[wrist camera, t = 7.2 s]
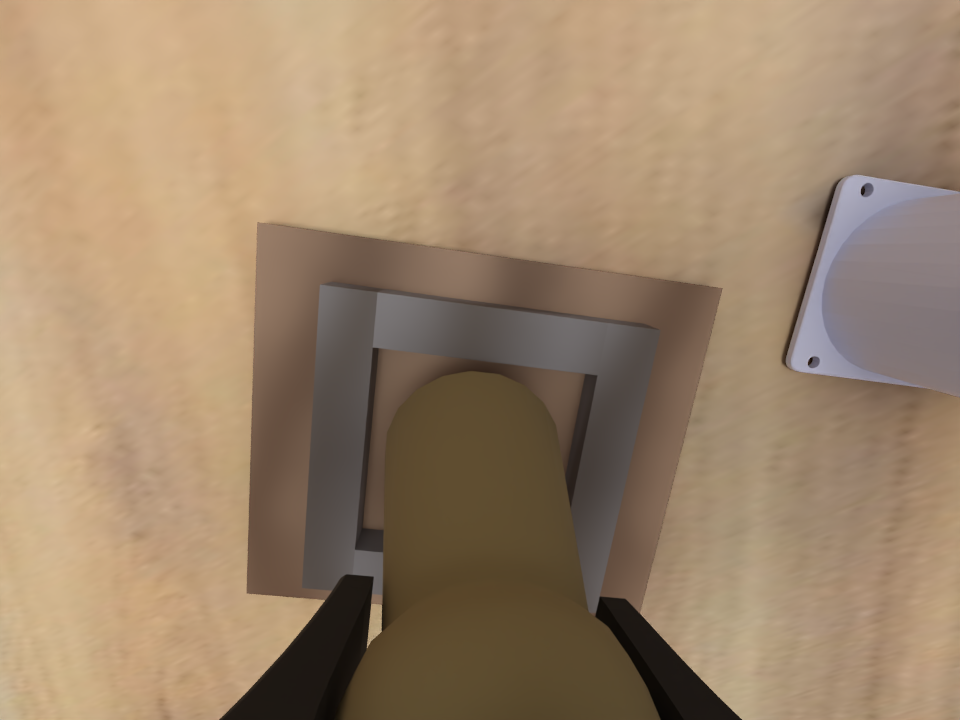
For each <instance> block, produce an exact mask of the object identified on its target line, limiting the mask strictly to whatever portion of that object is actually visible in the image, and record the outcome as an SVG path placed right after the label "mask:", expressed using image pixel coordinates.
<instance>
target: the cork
mask: <svg viewBox="0 0 960 720" xmlns="http://www.w3.org/2000/svg"><path fill="white" fill-rule="evenodd" d="M334 720H661V719H660V717H659V714H658V712H657V710H656V707H655V705H654V702H653V700H652V698H651V695H650V693H649V690H648V688H647V686H646V684H645V683H644V681H643V679H642V678H641V676H640V674H639V672H638V671H637V669H636V667H635V666H634V664H633V662H632V661H631V659H630V657H629V656H628V654H627V653H626V651H625V650H624V648H623V647H622V646H621V644H620V643H619V641H618V640H617V639H616V637H615V636H614V634H613V633H612V631H611V630H610V629H609V627H608V626H606V625H605V624H604V623H603V622H601V621H600V620H599V619H597V618H596V617H595V616H593V615H592V614H591V613H589V611H588V605H587V599H586V594H585V588H584V582H583V576H582V571H581V565H580V559H579V554H578V548H577V542H576V537H575V531H574V525H573V519H572V514H571V508H570V502H569V497H568V491H567V485H566V480H565V474H564V468H563V463H562V457H561V451H560V445H559V440H558V434H557V428H556V424H555V422H554V420H553V419H552V417H551V415H550V413H549V411H548V409H547V407H546V405H545V404H544V402H543V401H541V400H540V399H539V398H538V397H537V396H536V395H535V394H534V393H533V392H532V391H530V390H529V389H528V388H527V387H526V386H525V385H523V384H521V383H518V382H516V381H514V380H512V379H509V378H507V377H505V376H502V375H500V374H494V373H485V372H476V371H467V372H462V373H457V374H451V375H446V376H442V377H440V378H438V379H436V380H434V381H432V382H430V383H428V384H426V385H424V386H422V387H420V388H419V389H417V390H416V391H415V392H414V393H413V394H412V395H411V396H410V397H409V398H408V399H407V400H406V401H405V402H404V403H403V404H402V405H401V406H400V407H399V408H398V410H397V412H396V414H395V416H394V418H393V420H392V422H391V425H390V427H389V429H388V431H387V438H386V450H385V481H384V535H383V589H382V632H381V633H380V634H379V635H378V636H377V637H376V638H375V639H373V640H372V641H371V643H370V644H369V646H368V648H367V650H366V652H365V654H364V656H363V657H362V659H361V661H360V663H359V665H358V667H357V669H356V670H355V672H354V674H353V676H352V678H351V680H350V682H349V684H348V687H347V689H346V691H345V693H344V695H343V697H342V699H341V701H340V703H339V705H338V707H337V709H336V714H335V718H334Z"/></svg>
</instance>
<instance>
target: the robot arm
mask: <svg viewBox="0 0 960 720" xmlns="http://www.w3.org/2000/svg"><path fill="white" fill-rule="evenodd" d="M862 186H864V188H865V193H864V195H863V196H862V195H861V188H862ZM811 357H813V361H812V363H811V364H810V365H808V360H809V359H810V358H811ZM786 364H787V366H788V367H789V368H790V369H792V370H795V371H798V372H804V373H812V374H820V375H827V376H835V377H843V378H850V379H858V380H866V381H874V382H881V383H889V384H897V385H905V386H912V387H920V388H928V389H932V390H936V391H939V392H942V393H946V394H949V395H953V396H956V397H959V398H960V192H959V191H953V190H947V189H941V188H935V187H929V186H923V185H916V184H910V183H904V182H898V181H892V180H886V179H880V178H874V177H868V176H862V175H852V176H847V177H845V178H843V179H842V180H841V181H840V182H839V183H838V185H837V187H836V190H835V194H834V197H833V200H832V204H831V207H830V210H829V214H828V217H827V221H826V224H825V227H824V231H823V234H822V238H821V241H820V244H819V248H818V251H817V254H816V258H815V261H814V265H813V268H812V271H811V275H810V278H809V282H808V285H807V288H806V292H805V295H804V299H803V302H802V305H801V309H800V312H799V315H798V319H797V322H796V326H795V329H794V332H793V336H792V339H791V343H790V346H789V349H788V353H787V356H786ZM373 580H374V577H373V576H362V575H350V574H346V575H344V576H343V577H341V578H340V580H339V581H338V583H337V584H336V586H335V587H334V589H333V590H332V592H331V593H330V595H329V596H328V597H327V599H326V600H325V602H324V603H323V604H322V606H321V607H320V608H319V610H318V611H317V612H316V613H315V615H314V616H313V617H312V619H311V620H310V621H309V622H308V624H307V625H306V626H305V627H304V628H303V630H302V631H301V632H300V633H299V635H298V636H297V637H296V638H295V639H294V641H293V642H292V643H291V644H290V645H289V647H288V648H287V649H286V650H285V651H284V652H283V654H282V655H281V656H280V657H279V658H278V659H277V660H276V661H275V662H274V663H273V665H272V666H271V667H270V668H269V669H268V670H267V671H266V672H265V673H264V674H263V675H262V677H261V678H260V679H259V680H258V681H257V682H256V683H255V684H254V685H253V686H252V687H251V688H250V690H249V691H248V692H247V693H246V694H245V695H244V696H243V697H242V698H241V699H240V700H239V701H238V702H237V703H236V704H235V705H234V706H233V707H232V708H231V709H230V710H229V711H228V712H227V713H226V714H225V715H224V716H223V717H222V718H220V719H219V720H334V718H335V714H336V709H337V707H338V705H339V703H340V701H341V699H342V697H343V695H344V693H345V691H346V689H347V687H348V684H349V682H350V680H351V678H352V676H353V674H354V672H355V670H356V669H357V667H358V665H359V663H360V661H361V659H362V657H363V656H364V654H365V652H366V650H367V640H368V630H369V620H370V610H371V600H372V590H373ZM595 617H596V618H597V619H599V620H600V621H601V622H603V623H604V624H605V625H606V626H608V627H609V629H610V630H611V631H612V633H613V634H614V636H615V637H616V639H617V640H618V641H619V643H620V644H621V646H622V647H623V648H624V650H625V651H626V653H627V654H628V656H629V657H630V659H631V661H632V662H633V664H634V666H635V667H636V669H637V671H638V672H639V674H640V676H641V678H642V679H643V681H644V683H645V684H646V686H647V688H648V690H649V693H650V695H651V698H652V700H653V702H654V705H655V707H656V710H657V712H658V714H659V717H660V719H661V720H742V719H741V718H740V717H739V716H738V715H736V714H735V713H734V712H733V711H732V710H731V709H730V708H729V707H728V706H727V705H726V704H725V703H724V702H723V701H722V700H721V699H720V698H719V697H718V696H717V695H716V694H715V693H714V692H713V691H712V690H711V689H710V688H709V687H708V686H707V685H706V684H705V683H704V682H703V681H702V680H701V679H700V678H699V677H698V676H697V675H696V674H695V673H694V672H693V670H692V669H691V668H690V667H689V666H688V665H687V664H686V663H685V662H684V661H683V660H682V659H681V658H680V657H679V656H678V655H677V654H676V652H675V651H674V650H673V649H672V648H671V647H670V646H669V645H668V644H667V643H666V642H665V641H664V639H663V638H662V637H661V636H660V635H659V634H658V633H657V632H656V631H655V630H654V629H653V627H652V626H651V625H650V624H649V623H648V622H647V621H646V620H645V619H644V618H643V617H642V615H641V614H640V613H639V612H638V611H637V610H636V609H635V608H634V607H633V606H632V605H631V604H630V603H629V602H628V601H627V600H626V599H624V598H612V597H601V596H600V597H599V602H598V606H597V610H596V615H595Z"/></svg>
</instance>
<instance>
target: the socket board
mask: <svg viewBox="0 0 960 720" xmlns="http://www.w3.org/2000/svg"><path fill="white" fill-rule="evenodd" d="M721 292H722V288H716V287H709V286H702V285H695V284H688V283H681V282H674V281H667V280H660V279H653V278H646V277H639V276H632V275H625V274H618V273H611V272H604V271H597V270H590V269H582V268H575V267H568V266H561V265H554V264H547V263H540V262H533V261H526V260H519V259H512V258H505V257H498V256H491V255H484V254H477V253H470V252H463V251H456V250H449V249H442V248H435V247H428V246H421V245H414V244H407V243H400V242H393V241H386V240H379V239H372V238H365V237H357V236H350V235H343V234H336V233H329V232H322V231H315V230H308V229H301V228H294V227H287V226H280V225H273V224H266V223H259V222H257V254H256V289H255V323H254V358H253V393H252V427H251V462H250V497H249V531H248V566H247V593H249V594H261V595H273V596H285V597H297V598H309V599H321V600H326V599H327V597H328V596H329V595H330V593H331V592H332V590H333V589H334V587H335V586H336V584H337V583H338V581H339V580H340V578H341V577H343V576H344V575H346V574H350V575H362V576H373V577H374V580H373V590H372V600H371V604H381V605H382V589H383V535H384V481H385V450H386V438H387V431H388V429H389V427H390V425H391V422H392V420H393V418H394V416H395V414H396V412H397V410H398V408H399V407H400V406H401V405H402V404H403V403H404V402H405V401H406V400H407V399H408V398H409V397H410V396H411V395H412V394H413V393H414V392H415V391H416V390H417V389H419V388H420V387H422V386H424V385H426V384H428V383H430V382H432V381H434V380H436V379H438V378H440V377H442V376H446V375H451V374H457V373H462V372H467V371H476V372H485V373H494V374H500V375H502V376H505V377H507V378H509V379H512V380H514V381H516V382H518V383H521V384H523V385H525V386H526V387H527V388H528V389H529V390H530V391H532V392H533V393H534V394H535V395H536V396H537V397H538V398H539V399H540V400H541V401H543V402H544V404H545V405H546V407H547V409H548V411H549V413H550V415H551V417H552V419H553V420H554V422H555V424H556V428H557V434H558V440H559V445H560V451H561V457H562V463H563V468H564V474H565V480H566V485H567V491H568V497H569V502H570V508H571V514H572V519H573V525H574V531H575V537H576V542H577V548H578V554H579V559H580V565H581V571H582V576H583V582H584V588H585V594H586V599H587V605H588V611H589V613H591V614H592V615H593V616H595V615H596V610H597V606H598V602H599V597H600V596H601V597H612V598H624V599H626V600H627V601H628V602H629V603H630V604H631V605H632V606H633V607H634V608H635V609H636V610H637V611H638V612H639V613H640V611H641V607H642V603H643V599H644V595H645V591H646V587H647V583H648V579H649V575H650V571H651V567H652V563H653V560H654V556H655V552H656V548H657V544H658V540H659V536H660V532H661V528H662V524H663V520H664V516H665V512H666V508H667V504H668V501H669V497H670V493H671V489H672V485H673V481H674V477H675V473H676V469H677V465H678V461H679V457H680V453H681V449H682V446H683V442H684V438H685V434H686V430H687V426H688V422H689V418H690V414H691V410H692V406H693V402H694V398H695V394H696V391H697V387H698V383H699V379H700V375H701V371H702V367H703V363H704V359H705V355H706V351H707V347H708V343H709V339H710V336H711V332H712V328H713V324H714V320H715V316H716V312H717V308H718V304H719V300H720V296H721Z"/></svg>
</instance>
